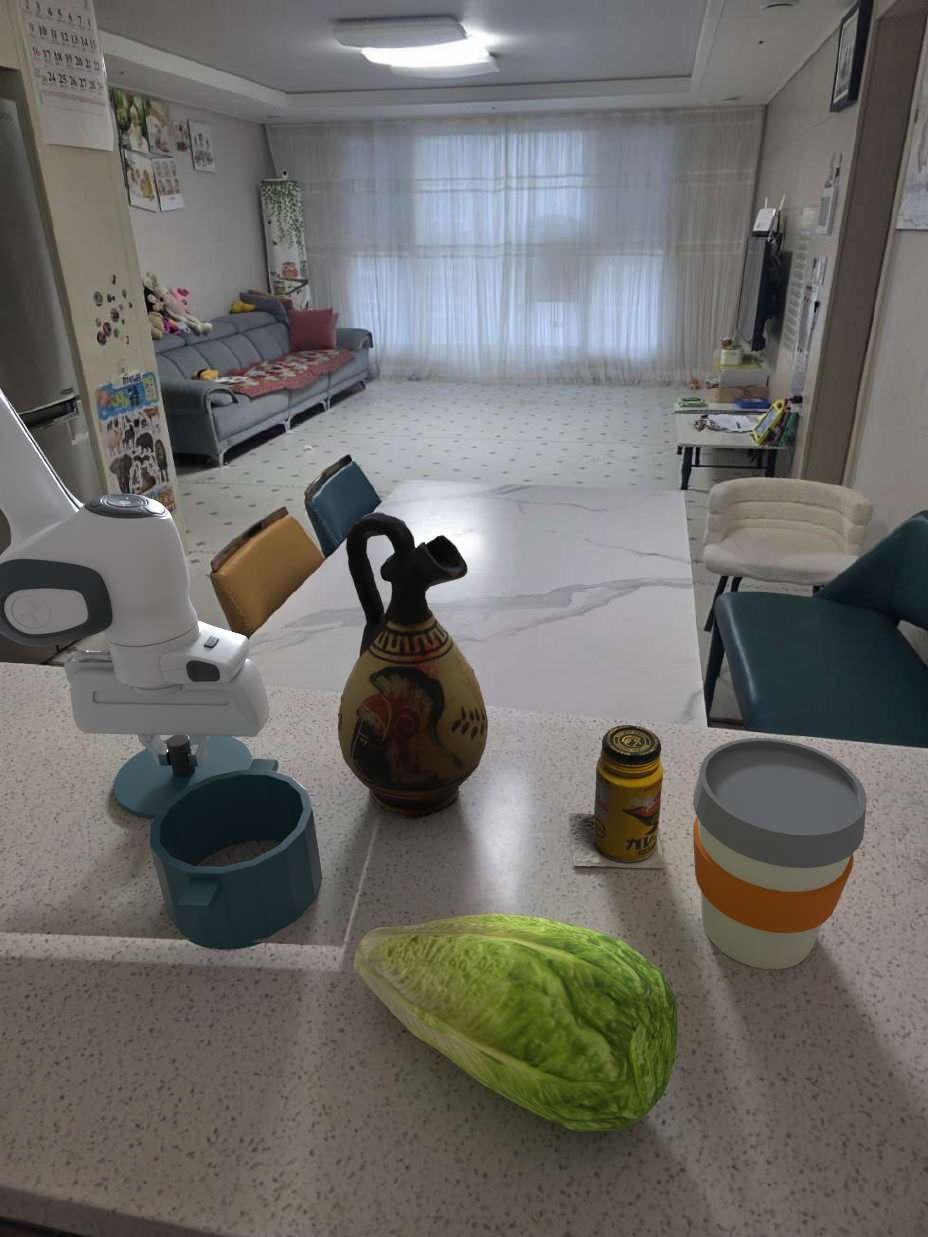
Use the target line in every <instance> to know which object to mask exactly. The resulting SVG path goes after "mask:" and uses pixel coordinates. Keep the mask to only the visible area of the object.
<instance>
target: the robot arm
mask: <svg viewBox="0 0 928 1237" xmlns="http://www.w3.org/2000/svg"><path fill="white" fill-rule="evenodd" d="M0 510H1V511H2V513H3V514H4V516H5V518H6V520H7V522H8V525H9V529H10V544H9V546H8V547H6V549H5V550H4V551H3V552H2V553H1V554H0V634H1V635H2V636H4V637H5V638H7V639H9V640H11V641H13V642H16V643H17V644H20V645H23V646H27V647H28V646H29V647H33V648H46V647H47V648H48V647H53V646H54V647H55V646H58V645H62V644H67V643H71V642H74V641H78V640H82V639H86V638H89V637H93V636H95V635H97V634H100V633H102V632H103V633H104V637H105V640H106V644H107V648H108V650H107V649H106V650H105V649H104V650H87V649H80V650H76V651H74V653H73V654H70V655H69V656H68V657H67V658H66V660H65V661H64V664H63V665H64V666H63V668H64V669H63V670H64V672H65V676H66V680H67V682H68V683H69V684H70V686H69V690H70V691H69V692H70V703H71V710H72V716H73V720H74V724H75V726H76V727H77V728H78V729H79V730H80V731H82V733H84V734H86V735H87V734H88V735H89V734H91V735H134V736H135V735H136V736H137V738H138V741H139V743H140V744H142V746H143V747H144V748H145V749H146V748H147V749H148V750H149V751H150V752H151V753H152V754H153V756H154V760H155V763H156V766H170V765H171V762H170V758H169V754H168V749H167V745H166V744H165V743H164V742H163V741H164V740H163V739H162V738H161V736H174V735H186V736H193V739H194V742H200V743H199V745H193V746H192V748H191V751H189V753H188V754H187V756H188V760H189V761H190V762H189V765H190V766H197V767H204V766H205V764H206V763H207V761H208V753H207V747H206V746H207V745H208V742H209V740H210V738H211V736H232V737H236V738H237V737H241V738H242V737H243V738H244V737H245V738H246V737H247V738H254V737H256V736H258V735H259V734H260V732H261V731H262V730H263V728H264V727H265V726H266V724H267V722H268V719H269V716H270V705H269V699H268V694H267V691H266V688H265V683H264V681H263V677H262V674H261V673H260V670H259V668H258V667H257V665H256V663H254V662H253V661H252V660H250V659H249V658H248V657H249V655H250V651H251V643H250V640H249V638H248V637H247V636H246V635H242V634H240V633H236V632H232V631H229V630H227V629H223V628H219V627H216V626H214V625H211V624H208V623H205V622H203V621H201V620H199V617H198V614H197V611H196V609H195V608H194V606H193V604H192V601H191V597H190V588H191V576H190V571H189V567H188V562H187V558H186V554H185V550H184V549H185V548H184V546H183V542H182V539H181V536H180V533H179V529H178V528H177V525H176V522H175V520H174V518H173V516H172V515H171V513H170V511H169V510H168V508H167V507H165V506H164V505H163V504H162V503H160V502H159V501H157V500H155V499H152V498H150V497H147V496H145V495H140V494H133V493H110V494H105V495H104V494H103V495H99V496H98V495H97V496H95V497H92V498H90V499H88V500H86V501H85V502H84V503H82V502H81V501H79V500H78V499H77V497H75V496H74V495H73V493H71V491H70V490H69V489H68V487H66V485H65V484H64V482H63V481H62V480H61V478H60V477H59V475H58V474H57V472H56V470H55V469H54V467H53V465H52V464H51V463H50V461H49V459H48V458H47V457H46V455H45V453H44V452H43V450H42V449H41V447H40V446H39V444H38V443H37V441H36V439H35V438H34V437H33V435H32V433H31V432H30V431H29V428H27V426H26V424H25V423H24V421H23V420H22V419H21V417H20V416H19V414H18V412H17V411H16V409H15V408H14V407H13V405H12V403H11V402H10V401H9V399H8V397H7V396H6V395H5V394H4V392H3V391H2V388H0Z"/></svg>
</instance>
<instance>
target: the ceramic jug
mask: <svg viewBox="0 0 928 1237" xmlns="http://www.w3.org/2000/svg"><path fill="white" fill-rule="evenodd" d="M378 536H386V537H387V539H388V540H389V542H390V543H391V546H392V548H393V551H394V552H393V553H392V554H391V555H390V556H389V557H387V558H386V559H385V561H384V562H383V563H382V565H381V566H380V569H379V573H380V578H381V579H382V580H383V581H384V582H388V583H390V584H391V594H390V595H391V596H390V601H389V603H388V605H387V608H386V610H385V606H384V603H383V600H382V596H381V593H380V591H379V589H378V586H377V583H376V579H375V574H374V571H373V568H372V564H371V561H370V558H369V557H368V552H367V549H368V540H369V539H371V538H372V537H378ZM345 542H346V543H345V551H346V555H347V559H348V560H347V565H348V566H347V567H348V570H349V574H350V576H351V579H352V582H353V585H354V588H355V591H356V594H357V597H358V600H359V604H360V606H361V608H362V610H363V614H364V618H365V625H364V627H363V630H362V631H363V632H362V638H361V643H360V648H359V657H358V658H357V660H356V661H355V662H354V665H353V666H352V669H351V671H350V673H349V675H348V677H347V679H346V682H345V685H344V688H343V690H342V691H343V692H342V694H341V695H340V704H339V710H338V713H337V717H338V718H337V719H338V720H337V721H338V722H337V735H338V742H339V747H340V751H341V754H342V758H343V761H344V762H345V764H346V766H348V768H349V770H351V772H352V773H353V774H354V776H355V777H356V778H357V779H358V780H359V781H360V782H361V784H362V785H364V786H365V787H366V788H367V789H368V790H369V793H370V794H371V796H372V797H373V799H374V800H375V802H377V803H378V804H379V806H380V807H381V808H383V809H384V810H387V811H389V812H391V813H393V814H396V815H398V816H402V817H404V818H407V819H419V818H422V817H426V816H428V815H431V814H434V813H440V812H442V811H443V810H446V809H447V808H449V807H451V806H452V805H453V804H455V803H456V802H457V798H458V797H457V796H458V794H459V791H460V786H461V785H463V783H464V782H465V781H466V780H467V779H468V778H470V777H471V775H472V774H473V773H474V772H475V770H476V769H477V768H478V767H479V765H480V762H481V760H482V758H483V756H484V752H485V750H486V745H487V740H488V729H489V721H488V720H489V719H488V715H487V710H486V705H485V701H484V697H483V693H482V690H481V685H480V683H479V680H478V678H477V676H476V674H475V670H474V669H473V667H472V666H471V664H470V662H469V661H468V659H467V658H466V656H465V655H464V653H463V652H462V650H461V649H460V647H459V646H458V644H457V643H456V642H455V640H454V639H453V637H452V636H451V634H450V633H449V632H448V631H447V629H446V627H444V626H443V625H442V624H441V622H440V621H439V620H438V619H437V618H436V616H435V615H434V613H433V610H431V609H430V608H429V605H428V600H427V598H426V595H427V591H428V590H429V589H430V588H432V587H435V586H437V585H440V584H444V583H445V584H446V583H449V582H452V581H456V580H460V579H462V578H464V577H465V576H466V575H468V564H467V562H466V560H465V558H463V555H462V554H461V552H460V551H459V549H458V546H456V545H455V544H454V543H453V542H452V541H451V540H450V539H449V538H448V537H447V536H445V535H444V534H441V535H437V536H435V538H433V539H431V540H430V541H428V542H427V543H426V541H422V542H421V543H419V544H418V545H417V546H416V543H415V536H414V535H413V533H412V531H411V529H410V528H409V526H407V523H406V522H405V521H404V520H403V519H400V518H398V517H396V516H392V515H389V514H388V515H387V514H385V512H379V511H376V512H370V513H367V514H365V515H363V516H361V517H360V518H359V519H357V520H356V521H355V522H354V523H353V524H352V526H351V527H350V530H349V532H348V534H347V535H346V541H345Z"/></svg>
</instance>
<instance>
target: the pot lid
mask: <svg viewBox="0 0 928 1237" xmlns="http://www.w3.org/2000/svg"><path fill="white" fill-rule="evenodd" d="M163 742H164V743H165V744H166V745H167V749H168V754H169V758H170V762H171V765H170V766H156V763H155V760H154V756H153V754H152V753H151V752H150V751H149V750H148V749H147V748H146V747H145V748H143V749H142V750H141V751H140V752H138V753H136V754H135V755H133V756H132V757H131V758H129V759H128V761H126V762H125V763H124V764H123V765H122V767H121V768H120V769H119V771H118V772H117V773H116V776H115V777H114V781H113V785H112V786H113V787H112V788H113V794H114V797H115V798H114V799H115V801H116V803H117V804H118V805H119V806H120V807H121V808H122V809H123V810H124V811H126V812H127V813H130V814H131V815H134V816H137V817H141V818H145V819H153V820H154V819H155V817H156V816H157V814H158V813H159V811H160V810H161V808H162V806H163V805H164V804H166V803H167V802H168V801H169V800H171V799H172V798H173V797H174V796H176V795H177V794H178V793H180V792H181V791H182V790H183V789H185V788H186V787H188V786H191V785H193V784H195V783H197V782H200V781H202V780H204V779H206V778H209V777H211V776H214V775H219V774H224V773H228V772H233V771H238V770H248V769H249V767H250V765H251V763H252V761H253V760H254V756H253V752H252V750H251V749H250V747H249V746H248V745H247V744H246V743H245V742H243V740H240V739H239V738H237V737H235V736H211V738H210V740H209V742H208V745H207V746H206V747H207V753H208V761H207V763H206V764H205V766H204V767H197V766H190V765H189V762H190V761H189V760H188V756H187V754H188V753H189V751H191V748H192V746H193V745H199V743H200V742H194V739H193V736H186V735H171V736H170V737H168V738H167V739H164V740H163Z"/></svg>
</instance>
